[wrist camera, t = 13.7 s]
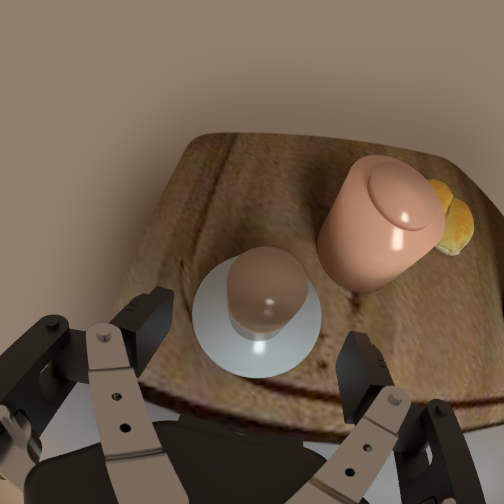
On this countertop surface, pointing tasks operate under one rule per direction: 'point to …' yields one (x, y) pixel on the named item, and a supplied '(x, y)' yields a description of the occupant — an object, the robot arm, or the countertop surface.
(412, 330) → the countertop surface
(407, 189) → the canister
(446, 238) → the bread roll
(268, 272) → the lid
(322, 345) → the countertop surface
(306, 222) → the countertop surface
